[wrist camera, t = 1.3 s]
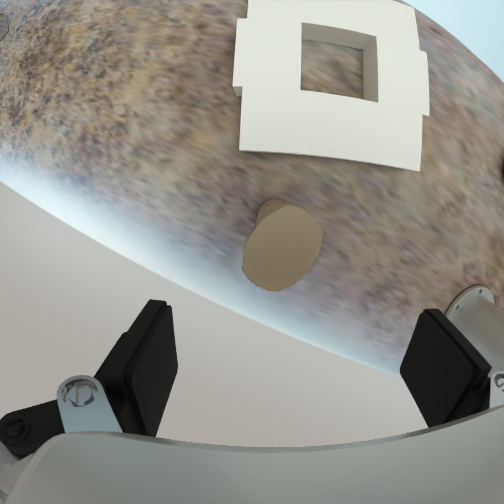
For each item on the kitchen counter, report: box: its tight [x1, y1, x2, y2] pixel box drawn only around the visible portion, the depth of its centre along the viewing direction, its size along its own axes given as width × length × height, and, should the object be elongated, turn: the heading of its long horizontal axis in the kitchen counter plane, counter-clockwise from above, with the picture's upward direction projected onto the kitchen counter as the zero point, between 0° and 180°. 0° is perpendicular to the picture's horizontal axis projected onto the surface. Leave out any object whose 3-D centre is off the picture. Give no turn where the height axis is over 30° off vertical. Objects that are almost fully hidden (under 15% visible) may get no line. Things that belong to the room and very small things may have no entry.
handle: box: [242, 199, 323, 291], centre depth 27 cm, size 5×6×15 cm
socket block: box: [233, 0, 429, 171], centre depth 26 cm, size 22×22×5 cm
